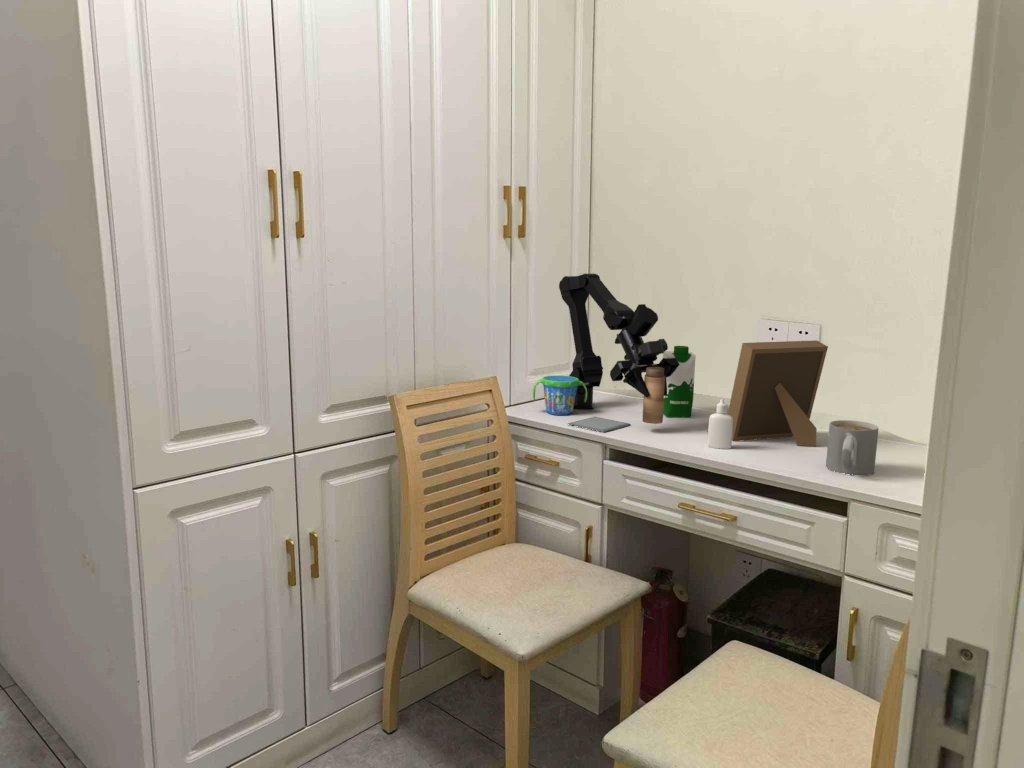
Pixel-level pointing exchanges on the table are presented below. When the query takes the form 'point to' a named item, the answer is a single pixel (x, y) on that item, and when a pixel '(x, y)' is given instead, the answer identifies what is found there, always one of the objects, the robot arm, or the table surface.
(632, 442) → the table surface
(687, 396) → the milk carton
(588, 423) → the coaster
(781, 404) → the photo frame
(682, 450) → the table surface
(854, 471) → the coffee mug
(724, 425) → the eye dropper bottle
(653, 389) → the shaker
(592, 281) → the robot arm
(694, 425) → the table surface
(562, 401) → the snack cup
